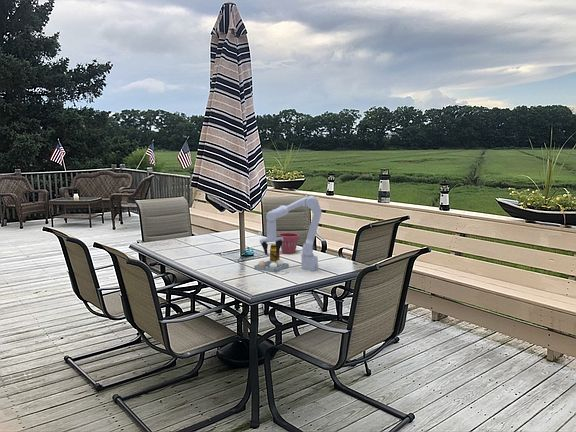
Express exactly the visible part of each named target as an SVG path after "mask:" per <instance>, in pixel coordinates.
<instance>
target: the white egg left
mask: <svg viewBox="0 0 576 432" xmlns="http://www.w3.org/2000/svg"><path fill="white" fill-rule="evenodd" d="M269 267H270V268H274V269H275V268H277V264H276V263H274V262H272V263H271V264H270V265H269Z"/></svg>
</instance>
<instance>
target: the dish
mask: <svg viewBox="0 0 576 432" xmlns="http://www.w3.org/2000/svg"><path fill="white" fill-rule="evenodd" d="M280 272H282V273H280ZM279 273H280V275H283V276H284V275H287V274H289V273H290V272H289V271H287V272H285V271H284V270H280V271H278V272H274V274H276V275H279Z"/></svg>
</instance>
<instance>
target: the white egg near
mask: <svg viewBox="0 0 576 432" xmlns="http://www.w3.org/2000/svg"><path fill="white" fill-rule="evenodd" d="M283 263H284V261H283V260H282V259H280V260H278V261H276V264H277V265H278V266H282V265H283Z"/></svg>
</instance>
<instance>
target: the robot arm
mask: <svg viewBox="0 0 576 432" xmlns="http://www.w3.org/2000/svg"><path fill="white" fill-rule="evenodd" d="M278 206H279V207H277V208H275V209H274V208H273V209H272V210H269V211H268V212H267V213H266V214H265V215H266V217H265V219H266V238H263V239H262V238H261V239H260V240H259V244H260V245H261V246H262V248H263V252H264V255H265V256H266V255H267V256H268V247H269V244H268V243H274V242H275V244H276V253H279V250H280V249H281V245H282V241H283V238H282V237H278V236H277V221H276V220H277V219H280V218H282V217H284V216H286V215H288V213H289V212H290V211H293V210H294V209H297V208H299V207H304V208H305V207H307V208H309V209H310V211H311V212H312V217H311V221H310V224H309V227H308V228H309V229H308V231H307V236H306V239H305V242H304V243H303V244H302V249H301V252H302V253H301V269H302V270H307V271H308V270H309V271H313V272H314V271H317V270H319V259H318V256H316V255H314V253H313V251H314V241H315V237H316V235H317V231H318V228H319V224H320V219H321V217H322V214H323V213H322V209H321V206H320V203H319V201H318V199H317V197H316V196H315V195H308V196H305V197H302V198H300V199H298V200H295V201H294V202H292V203H290V204H288V205H282V204H281V205H278Z"/></svg>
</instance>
